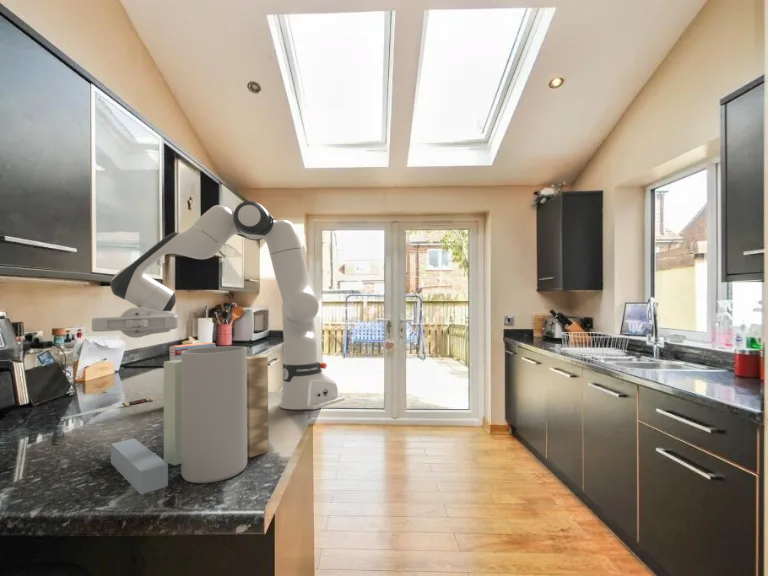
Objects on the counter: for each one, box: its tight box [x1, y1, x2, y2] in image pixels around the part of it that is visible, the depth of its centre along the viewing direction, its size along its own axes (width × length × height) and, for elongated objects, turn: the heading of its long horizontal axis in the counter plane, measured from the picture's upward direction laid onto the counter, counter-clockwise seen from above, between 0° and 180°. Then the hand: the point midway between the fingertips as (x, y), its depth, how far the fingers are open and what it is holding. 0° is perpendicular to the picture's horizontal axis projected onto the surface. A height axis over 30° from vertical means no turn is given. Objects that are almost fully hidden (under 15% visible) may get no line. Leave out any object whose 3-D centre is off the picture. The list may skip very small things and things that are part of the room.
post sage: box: [163, 359, 181, 466], centre depth 87 cm, size 4×4×22 cm
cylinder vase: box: [180, 346, 248, 484], centre depth 81 cm, size 12×12×25 cm
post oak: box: [247, 354, 270, 458], centre depth 91 cm, size 4×4×22 cm
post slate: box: [110, 438, 169, 495], centre depth 80 cm, size 4×4×22 cm
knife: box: [61, 396, 155, 419], centre depth 132 cm, size 27×2×5 cm
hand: (137, 323), depth 103 cm, fingers closed
